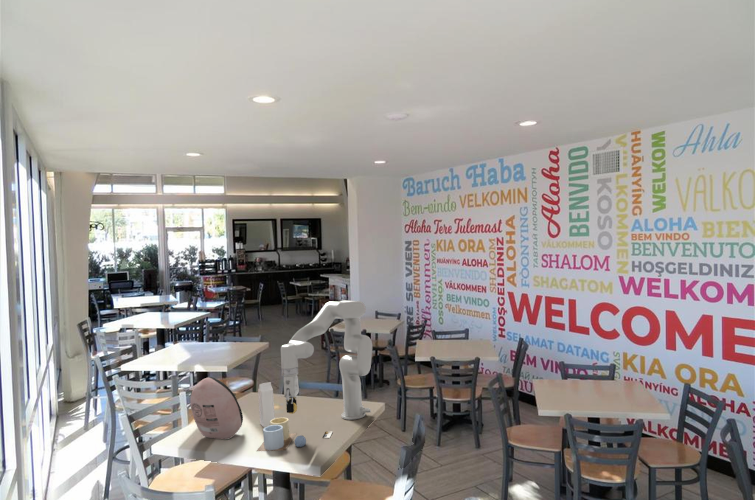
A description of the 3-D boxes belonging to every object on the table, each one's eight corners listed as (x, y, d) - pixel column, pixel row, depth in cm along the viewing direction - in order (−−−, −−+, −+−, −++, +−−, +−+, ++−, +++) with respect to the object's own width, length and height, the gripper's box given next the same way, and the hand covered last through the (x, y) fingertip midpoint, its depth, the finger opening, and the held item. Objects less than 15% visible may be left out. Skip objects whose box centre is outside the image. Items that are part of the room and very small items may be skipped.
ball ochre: (298, 411, 238) (298, 400, 238) (296, 415, 233) (295, 404, 233) (288, 411, 238) (287, 401, 238) (285, 415, 233) (284, 404, 233)
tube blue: (285, 442, 230) (284, 424, 230) (280, 449, 222) (279, 431, 222) (267, 442, 231) (266, 425, 231) (261, 450, 222) (260, 432, 222)
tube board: (332, 431, 243) (332, 429, 243) (323, 452, 219) (322, 449, 219) (272, 433, 246) (272, 431, 246) (256, 453, 222) (256, 451, 222)
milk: (275, 426, 255) (272, 383, 255) (263, 429, 252) (261, 385, 252) (271, 423, 260) (269, 380, 260) (259, 426, 257) (257, 382, 257)
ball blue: (307, 444, 228) (306, 433, 227) (304, 449, 223) (304, 437, 222) (296, 445, 228) (295, 433, 228) (293, 449, 223) (293, 438, 223)
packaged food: (249, 432, 249) (245, 371, 248) (222, 448, 231) (218, 382, 231) (214, 428, 258) (211, 369, 257) (185, 443, 240) (181, 380, 239)
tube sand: (291, 434, 240) (290, 417, 240) (286, 440, 232) (285, 423, 232) (274, 434, 241) (273, 417, 241) (268, 441, 232) (267, 423, 232)
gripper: (293, 375, 227) (295, 416, 227) (301, 366, 244) (303, 404, 243) (277, 375, 227) (279, 416, 227) (286, 367, 244) (288, 405, 244)
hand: (291, 410), depth 235 cm, fingers closed on ball ochre, 4 cm apart
